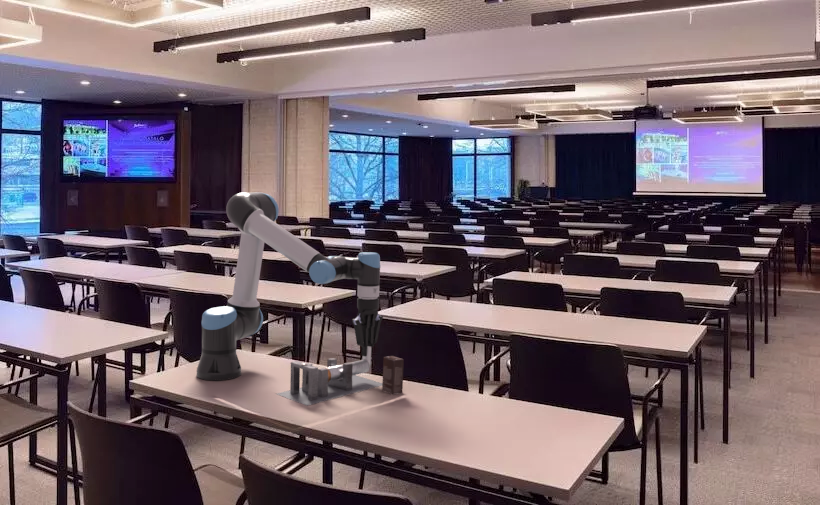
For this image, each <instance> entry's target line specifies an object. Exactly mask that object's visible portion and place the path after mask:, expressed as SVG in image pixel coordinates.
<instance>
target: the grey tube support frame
mask: <svg viewBox="0 0 820 505" xmlns="http://www.w3.org/2000/svg"><path fill="white" fill-rule="evenodd" d="M326 366H327V367H326V368H329V367H333V366H338V359H337V358H334V357H331V358H327V363H326ZM328 385H329V386H332V387H336V388H339V389H342V390H345V391H349V390H352V363H351V362H345V363H343V378H341V379H337V380H333V381H329V382H328Z"/></svg>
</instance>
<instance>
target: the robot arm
mask: <svg viewBox="0 0 820 505" xmlns="http://www.w3.org/2000/svg"><path fill="white" fill-rule="evenodd" d="M225 209H226V210H225V211H226V215H227V217H228V220H229V221H230V223H231V224H233V225H234V226H236V228H238V230H239V231H240V240H239V248H238V254H237V260H236V262H237V263H236V270H235V277H234V285H233V292H232V296H231V297H230V298H229V299H227V304H226V306H225V305H223V306H216V307H211V308H209V309H206V310H205V311H204V312H203V313H202V315H201V321H200V322H201V356H200V358H199V362H198V364H197V367H196V377H197V378H198V379H201V380H205V381H224V380H225V381H226V380H232V379H235V378H239V377H240V376H241V375H242V366H241V364H240V360H239V357H238V355H237V341H238V340H242V339H244V338H249V337H252V336H253V335H254V334H256V333H258V332H259V331H260V330H261V328H262V326H263V322H264V316H263V312H262V311H261V309H260V305H261V304H260V302H259V301H258V299H257V297H258V296H257V295H258V289H259V285H260V284H259V282H260V275H261V269H262V263H263V262H262V261H263V254H264V248H265V244H266V245H268V246H269V247H271V248H272V249H273V250H274V251H276V252H277V253H279V254H281V255H282V256H284V257H285V258H286V259H288V260H289V261H291V262H292V263H294V264H295V265H296V266H298V267H299V268H301V269H302V270H304V271H305V272H307V273H309V274H308V275H309V277H310V279H311V280H312V281H313V282H314V283H316V284H318V285H325V284H329V283H332V282H334V281H335V282H336V281H338V280H343V279H345V280H346V279H347V280H357V297H358V298H357V299H356V302H357V303H356V308H357V309H358V312H357V314H356V315H357V316H356V317H355V318H352V319H351V322H352V324H353V328H354V335H355V340H356V344H357V346H359V347H361V351H360V354H361V356H362V358H361V360H367V361H368V362H369V365H370V366H371V365H372V355H373V347H375V344H378V339H379V334H380V329H381V323H382V321H383V319H384V316H383V315H380V314H379V308H380V299H379V297H380V281H381V280H380V278H381V277H380V276H381V257H380V254H379V253H378V252H371V251H369V252H368V251H367V252H366V251H365V252H363V251H362V252H359V253H358V256H357V257H349V256H340V255H329V256H327V257H326V256H325V255H323V254H322V253H320V252H319V251H318V250H316V249H315V248H314V247H312V246H310V245H309V244H307V243H306V242H304V241H303V240H302V239H301V238H299V237H298V236H296V235H294V234H292V233H291V232H290V231H288V230H287V229H285V228H284V227H282V226H281V225H279V224H278V223H276V222H275V221H277V219H278V218H279V213H280V211H279V205H278V203H277V201H276V199H275V198H274V197H273V196H271V195H270V194H268V193H264V192H259V191H257V192H255V191H254V192H239V193H235V194H234V195H232V197H230V198H229V200H228V201H227V204H226V208H225Z"/></svg>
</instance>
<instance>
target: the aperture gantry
mask: <svg viewBox="0 0 820 505" xmlns="http://www.w3.org/2000/svg"><path fill="white" fill-rule="evenodd" d="M303 369H304V370H307V371H309V381H308V400H310V401H313V400H317V395H318V369H319V367H317V366H314V365H312V366H311V365H308V364H307V362H300V361H298V360H294V361H291V362H290V387H289V388H290V393H291V394H297V393H299V388H301V387H300V381H301V380H300V378H301V377H300V376H301V374H300V373H301V372H300V371H301V370H303Z"/></svg>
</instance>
